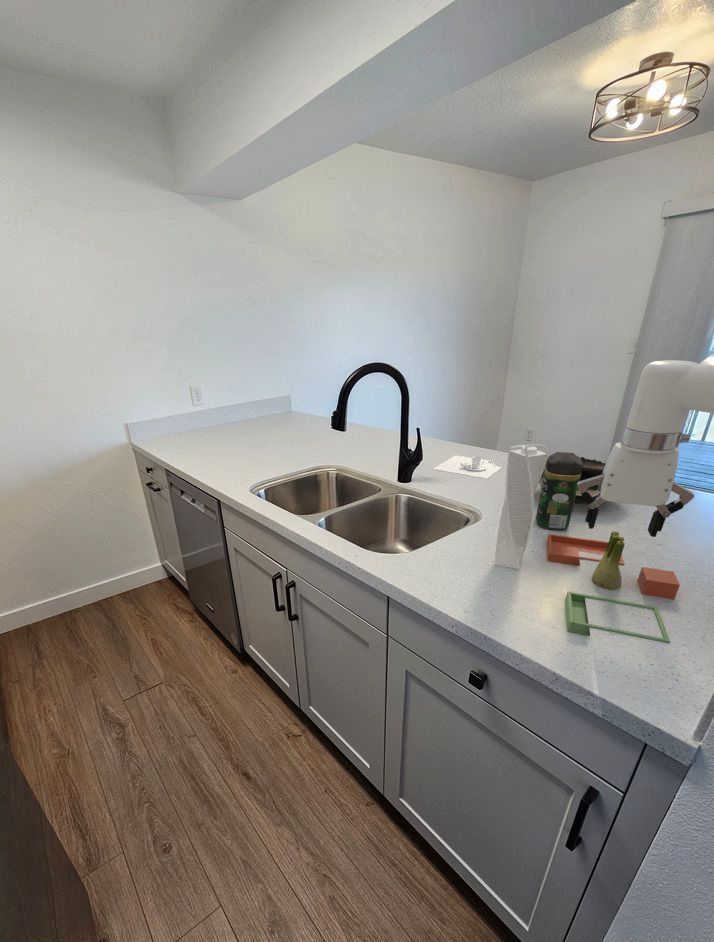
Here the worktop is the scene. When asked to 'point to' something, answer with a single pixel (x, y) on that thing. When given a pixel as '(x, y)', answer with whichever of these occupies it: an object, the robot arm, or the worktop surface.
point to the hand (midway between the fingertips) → (620, 529)
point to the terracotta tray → (573, 549)
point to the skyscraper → (519, 503)
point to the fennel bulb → (610, 564)
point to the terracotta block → (658, 583)
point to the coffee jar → (558, 490)
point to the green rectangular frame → (579, 624)
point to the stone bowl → (586, 477)
